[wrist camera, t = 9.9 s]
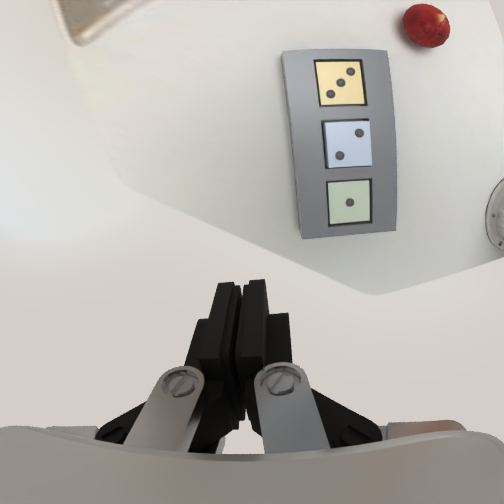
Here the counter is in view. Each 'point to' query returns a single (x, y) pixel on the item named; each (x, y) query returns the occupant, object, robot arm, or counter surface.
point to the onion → (426, 25)
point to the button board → (312, 142)
